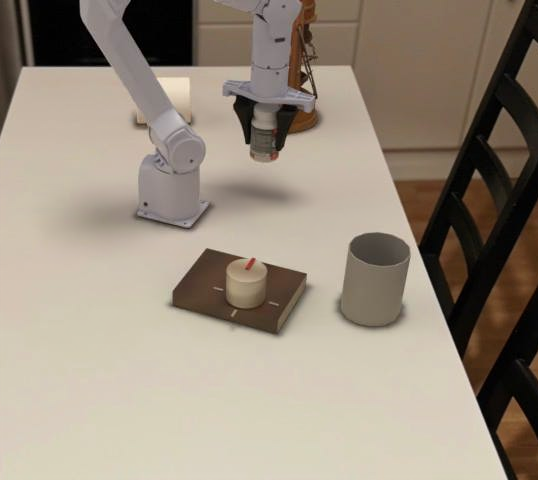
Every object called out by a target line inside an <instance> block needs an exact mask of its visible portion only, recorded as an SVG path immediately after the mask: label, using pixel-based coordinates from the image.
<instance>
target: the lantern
mask: <svg viewBox="0 0 538 480" xmlns="http://www.w3.org/2000/svg"><path fill="white" fill-rule="evenodd" d="M299 1H300V2H301V3H302V6H301V10H300V13H299V15H298V16H297V18H296V19H295V20H294V22H293V26H292V34H291V46H290V59H289V72H288V85H287V86H288V87H290V88H293V89H295V90H298V91H300V92H303V93H306V94H309V95H313V96H315V103H314V108H313V110H312V111H311V112H310V113H308V112H304V110H303V109H300V110H299V111H298V113H297V115H296V117H295V118H294V120H293V122H292V124H291V127H290V129H289V131H288V134H290V133H299V132H303V131H307V130H308V129H310V128H313V127H314V126H315V125H316V124H317V123H318V121H319V115H318V112H317V109H316V101H317V100H318V96H319V95H318V91H317V87H316V83H315V79H314V75H313V72H314V69H312V68H311V67H312V66H311V63H310V61H312V60H314V64H315V65H317V64H316V62H317V61H316V60H317V59H318V58H319V56H318V55H316V54H317V52H316V48H315V46H314V44H313V43H312V40H313V39H314V38H313V33H312V31H311V30H310V24H312V23H314V22H316V21H317V19H318V15H317V14H316V0H299ZM306 44H307V45H308V47H309V48H310V47H311V49H312V50H311V51H312V54H308V52H307V47H306ZM302 61H303V62H302ZM303 65H304V69H305V71H303V70H302V66H303ZM308 81H309V82H310V85H311V89H312V92H311V91H309V90H307V88H304V87H303V86H304V84H305V83H307V82H308ZM257 103H260V102H257ZM278 106H279V108H282V105H278Z"/></svg>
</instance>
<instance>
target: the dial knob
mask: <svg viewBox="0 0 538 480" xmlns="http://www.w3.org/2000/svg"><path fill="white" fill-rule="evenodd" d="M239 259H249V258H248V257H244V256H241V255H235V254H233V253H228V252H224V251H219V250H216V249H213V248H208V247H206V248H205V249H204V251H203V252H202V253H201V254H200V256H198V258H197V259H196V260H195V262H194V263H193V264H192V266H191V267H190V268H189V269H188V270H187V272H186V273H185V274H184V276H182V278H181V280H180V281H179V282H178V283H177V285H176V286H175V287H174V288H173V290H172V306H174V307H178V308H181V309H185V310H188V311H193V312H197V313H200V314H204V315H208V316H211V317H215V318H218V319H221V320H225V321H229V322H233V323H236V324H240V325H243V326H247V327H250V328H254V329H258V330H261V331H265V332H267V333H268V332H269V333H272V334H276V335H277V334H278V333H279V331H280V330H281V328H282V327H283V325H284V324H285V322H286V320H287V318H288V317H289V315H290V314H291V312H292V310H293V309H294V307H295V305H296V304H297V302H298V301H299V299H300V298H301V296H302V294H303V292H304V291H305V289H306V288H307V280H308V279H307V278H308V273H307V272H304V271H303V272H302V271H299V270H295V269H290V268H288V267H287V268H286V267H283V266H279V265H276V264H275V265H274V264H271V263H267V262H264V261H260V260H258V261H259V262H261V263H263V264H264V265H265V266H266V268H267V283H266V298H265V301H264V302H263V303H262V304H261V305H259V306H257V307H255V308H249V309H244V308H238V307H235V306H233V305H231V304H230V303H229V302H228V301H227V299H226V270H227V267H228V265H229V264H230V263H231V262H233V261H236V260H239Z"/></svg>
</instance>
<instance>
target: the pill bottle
mask: <svg viewBox="0 0 538 480" xmlns="http://www.w3.org/2000/svg"><path fill="white" fill-rule="evenodd" d="M279 109H280V108H279V106H278V105H277V104H272V103H261V102H260V103H257V104H256V105H255V106H254V117H253V118H252V120H251V139H250V145H249V157H250V158H251V160H253V161H254V162H256V163H257V162H258V163H261V164H267V163H272V162H275V161H276V160H278V158H279V155H280V151H276V140H277V118H276V113H277V112H278V111H279Z"/></svg>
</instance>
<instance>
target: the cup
mask: <svg viewBox="0 0 538 480" xmlns="http://www.w3.org/2000/svg"><path fill="white" fill-rule="evenodd" d="M411 257H412V252H411V246H410V245H409V244H408V243H407V242H406V241H405V240H404V239H402V238H401V237H398V236H396V235H394V234H392V233H386V232H382V231H374V232H373V231H372V232H364V233H361V234H357V235H355V236H354V237H353V238H352V239H351V240H350V242H349V243H348V248H347V253H346V262H345V269H344V276H343V283H342V291H341V297H340V311H341V313H342V314H343V315H344V316H345V318H346V319H347V320H350V321H352V323H353V322H354V323H355V324H357V325H361V326H366V327H382V326H383V327H384V326H386V325H388V324H391V323H393V322H395V321H396V319H397V318H398V317H399V315H400V313H401V307H402V303H403V299H404V293H405V287H406V283H407V278H408V273H409V266H410V262H411Z"/></svg>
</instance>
